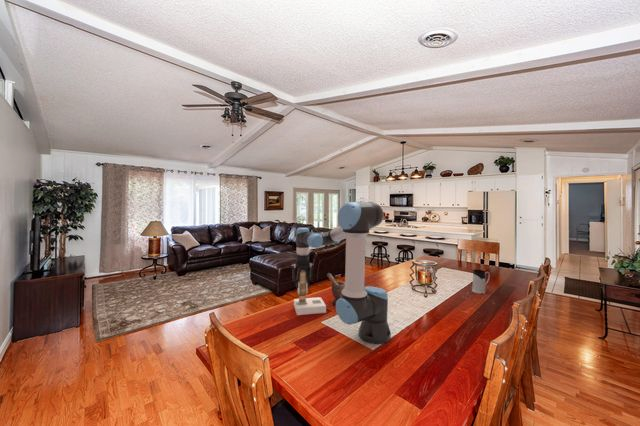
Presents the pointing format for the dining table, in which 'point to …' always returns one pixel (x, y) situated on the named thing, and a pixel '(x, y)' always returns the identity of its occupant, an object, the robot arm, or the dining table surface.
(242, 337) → the dining table surface
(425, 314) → the dining table surface
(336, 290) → the mortar and pestle
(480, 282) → the grey mug
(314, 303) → the board
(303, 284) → the leg peg
